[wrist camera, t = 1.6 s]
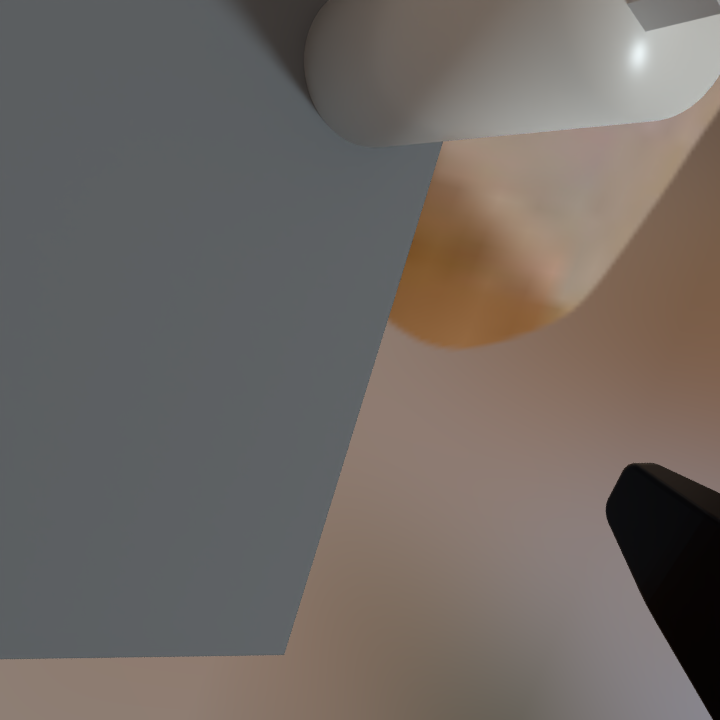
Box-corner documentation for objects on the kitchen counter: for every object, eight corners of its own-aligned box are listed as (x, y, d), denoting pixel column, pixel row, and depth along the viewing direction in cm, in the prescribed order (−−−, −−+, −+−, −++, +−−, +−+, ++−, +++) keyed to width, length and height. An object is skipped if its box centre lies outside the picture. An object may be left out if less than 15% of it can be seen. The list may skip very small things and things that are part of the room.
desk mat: (276, 641, 24) (283, 654, 23) (-464, 643, 15) (-488, 666, 14) (467, 19, 21) (482, 14, 21) (-269, -425, 12) (-285, -460, 12)
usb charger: (385, 178, 20) (731, 173, 11) (274, 77, 18) (581, -47, 8) (461, 61, 21) (867, -49, 11) (360, -52, 18) (756, -320, 9)
